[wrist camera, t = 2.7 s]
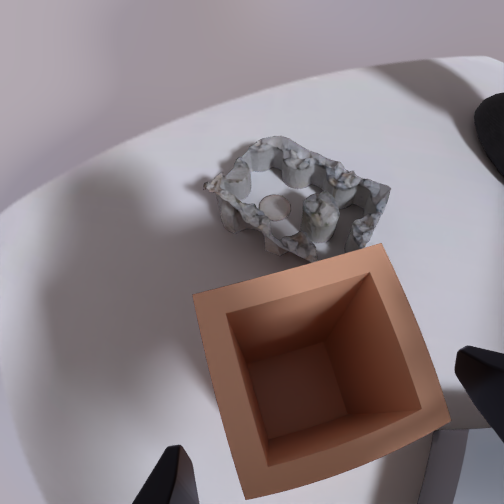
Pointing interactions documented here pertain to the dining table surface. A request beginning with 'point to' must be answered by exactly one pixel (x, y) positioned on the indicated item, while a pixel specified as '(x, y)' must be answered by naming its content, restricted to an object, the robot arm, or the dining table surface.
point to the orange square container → (317, 370)
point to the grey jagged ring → (314, 207)
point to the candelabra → (492, 128)
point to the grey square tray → (464, 468)
